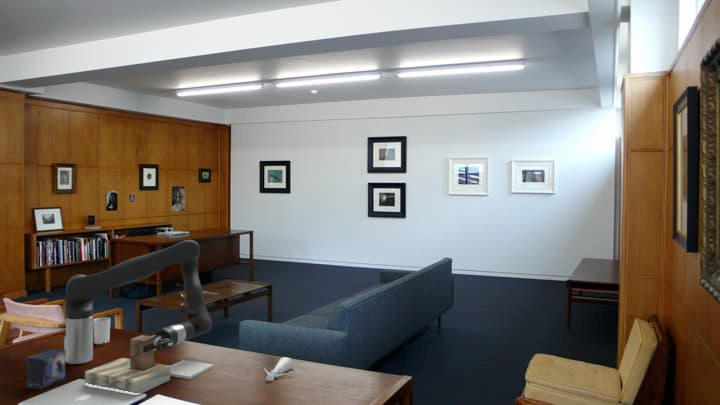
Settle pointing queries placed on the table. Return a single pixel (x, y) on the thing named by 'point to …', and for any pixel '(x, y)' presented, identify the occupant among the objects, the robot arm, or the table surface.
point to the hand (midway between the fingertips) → (137, 348)
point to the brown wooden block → (141, 353)
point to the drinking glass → (101, 330)
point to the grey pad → (188, 369)
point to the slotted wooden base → (127, 376)
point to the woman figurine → (280, 368)
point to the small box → (46, 368)
